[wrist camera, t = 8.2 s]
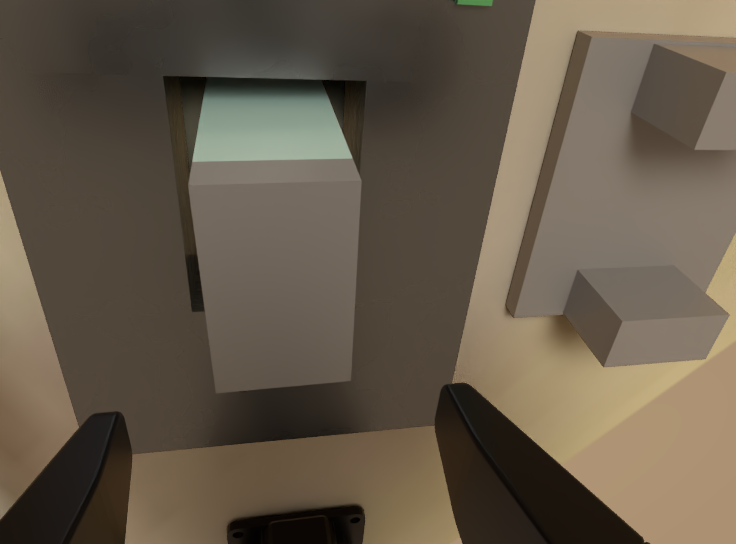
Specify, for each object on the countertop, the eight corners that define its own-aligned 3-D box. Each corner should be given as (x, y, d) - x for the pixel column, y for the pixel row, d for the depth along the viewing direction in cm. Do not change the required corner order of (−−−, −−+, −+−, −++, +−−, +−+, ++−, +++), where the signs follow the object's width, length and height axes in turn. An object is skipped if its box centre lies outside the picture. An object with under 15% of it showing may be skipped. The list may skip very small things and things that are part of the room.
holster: (685, 295, 24) (752, 357, 21) (505, 304, 22) (548, 374, 19) (807, 41, 18) (923, 74, 15) (578, 30, 16) (655, 65, 13)
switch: (421, 367, 23) (444, 428, 21) (106, 390, 21) (87, 463, 18) (521, -206, 13) (590, -226, 11) (-65, -282, 11) (-160, -333, 8)
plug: (317, 228, 19) (350, 380, 13) (223, 232, 18) (215, 393, 12) (318, 73, 16) (361, 180, 10) (207, 72, 15) (188, 185, 10)
